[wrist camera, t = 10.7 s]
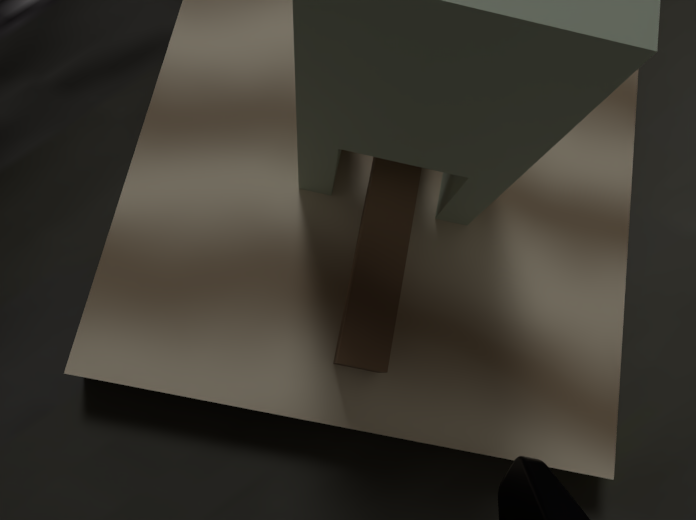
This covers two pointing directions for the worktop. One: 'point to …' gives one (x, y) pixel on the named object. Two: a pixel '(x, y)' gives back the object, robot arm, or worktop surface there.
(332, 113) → the grey-green notched block
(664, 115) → the worktop surface
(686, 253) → the worktop surface
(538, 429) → the cleat board
